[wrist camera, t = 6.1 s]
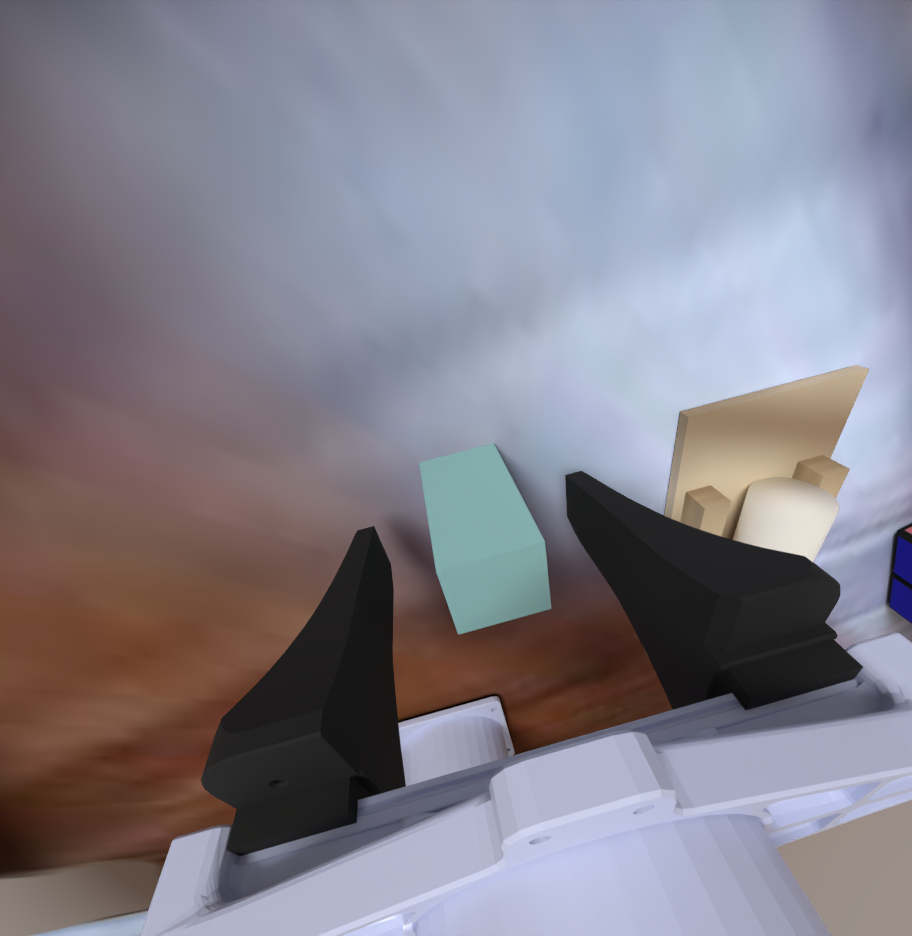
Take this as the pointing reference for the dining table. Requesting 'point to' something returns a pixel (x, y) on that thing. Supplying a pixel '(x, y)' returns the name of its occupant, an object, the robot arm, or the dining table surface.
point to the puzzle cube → (902, 574)
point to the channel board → (758, 446)
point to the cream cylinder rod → (786, 516)
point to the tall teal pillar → (483, 540)
